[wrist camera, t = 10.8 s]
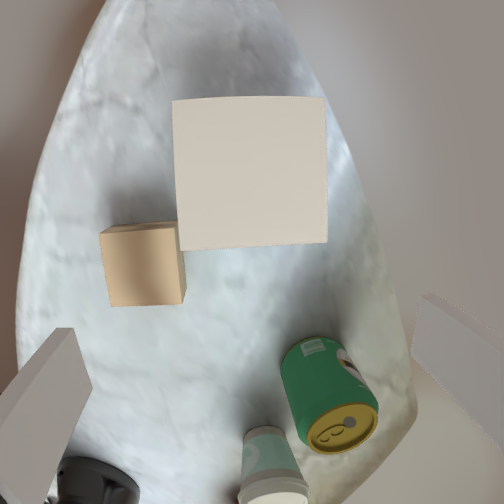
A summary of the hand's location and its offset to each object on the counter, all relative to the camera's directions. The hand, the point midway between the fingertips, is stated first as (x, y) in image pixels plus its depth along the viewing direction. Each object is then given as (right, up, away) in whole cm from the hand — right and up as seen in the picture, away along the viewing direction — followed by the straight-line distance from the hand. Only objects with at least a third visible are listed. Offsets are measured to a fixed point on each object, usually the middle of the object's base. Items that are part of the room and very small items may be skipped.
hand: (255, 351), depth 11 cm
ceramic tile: (0, +10, +13) cm, 17 cm away
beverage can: (+7, -9, +26) cm, 28 cm away
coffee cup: (+2, -22, +29) cm, 36 cm away
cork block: (-10, +3, +21) cm, 23 cm away
